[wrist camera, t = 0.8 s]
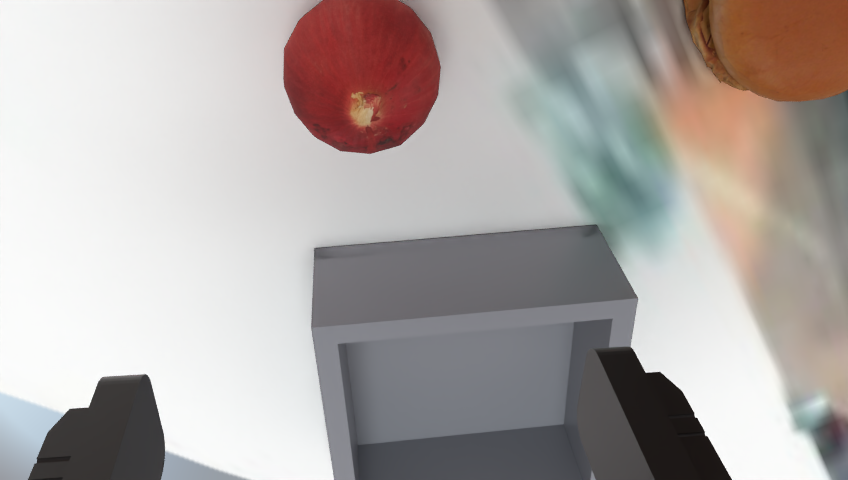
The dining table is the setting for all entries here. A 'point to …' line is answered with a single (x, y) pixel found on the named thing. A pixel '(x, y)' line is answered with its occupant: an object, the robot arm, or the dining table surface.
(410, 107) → the onion
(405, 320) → the bin
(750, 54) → the burger
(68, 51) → the dining table surface
